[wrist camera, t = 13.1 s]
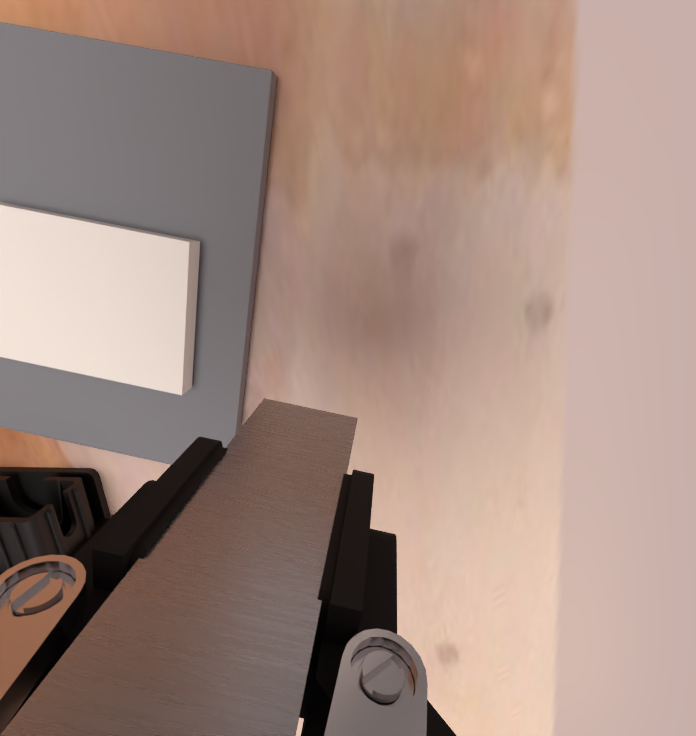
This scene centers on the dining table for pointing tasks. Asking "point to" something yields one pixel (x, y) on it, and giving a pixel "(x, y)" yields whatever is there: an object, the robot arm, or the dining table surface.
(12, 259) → the tile
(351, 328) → the dining table surface
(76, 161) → the mat
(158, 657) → the metal bar
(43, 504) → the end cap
